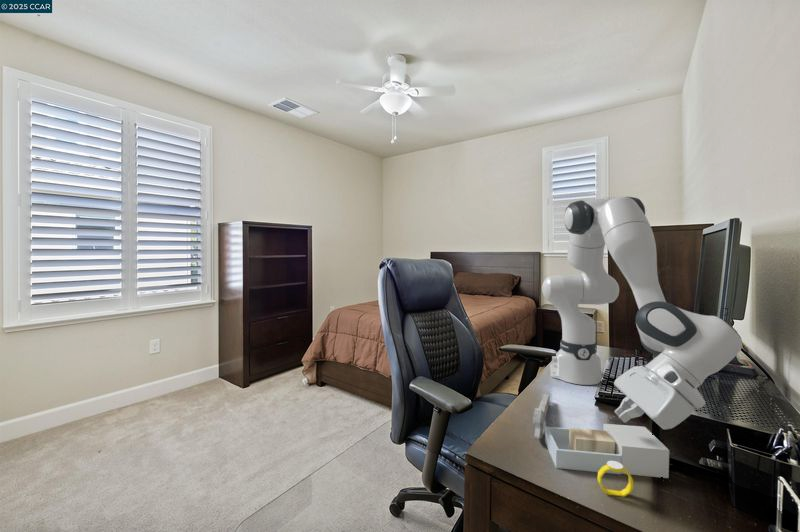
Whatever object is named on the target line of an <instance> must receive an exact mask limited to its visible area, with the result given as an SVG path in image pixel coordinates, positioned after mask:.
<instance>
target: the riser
mask: <svg viewBox="0 0 800 532" xmlns="http://www.w3.org/2000/svg"><path fill="white" fill-rule="evenodd" d="M602 430H603V431H607V433H608V434H609V435H610V436H611V438H612V439H613V440H614V441H615V454H620V455H621V464H622V465H623V467H624V468H625V469H626V470H627V471H628V472H629V474H630V475H631V476H633V475H634V476H640V477H641V476H644V477H650V478H651V477H653V478H654V477H655V478H661V477H663V479H669V476H670V475H669V472H670V469H669V468H670V449H668V447H667V446H665V444H664V443H663V442H661V441H660V440H659V439H658V438H657V436H655V435H654V434H653V433H652V432H651V431H650V430H649V428H647V427H646V426H639V425H625V424H614V423H613V424H612V423H603V429H602ZM652 434H653V435H652ZM622 474H624V475H627V474H626V473H625V472H623V471H622V472H621V474H620V475H622Z"/></svg>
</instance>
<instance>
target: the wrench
mask: <svg viewBox="0 0 800 532" xmlns="http://www.w3.org/2000/svg"><path fill="white" fill-rule="evenodd" d="M550 397H551V396H550V394H546V393H544V394H543V395H542V398H541V401H540V404H539V406H538V407H535V408H534V409H533V410H534V411H533V416H532V417H533V418H532V420H533V421H532V424H533V425H534V438H535V439H538V440H539V439H543V430H544V423H545V419H546V416H547V413H548V409H549V405H550Z"/></svg>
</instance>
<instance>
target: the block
mask: <svg viewBox="0 0 800 532" xmlns="http://www.w3.org/2000/svg"><path fill="white" fill-rule="evenodd" d="M568 428H569V449H570V450H577V451H588V452H599V453H610V454H615V441H614V440H613V439H612V438H611V436H610V435H609V434H608V433H607V431H603V429H602V430H600V429H590V428H589V429H588V428H578V427H577V428H576V427H568Z"/></svg>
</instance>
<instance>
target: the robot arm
mask: <svg viewBox="0 0 800 532" xmlns="http://www.w3.org/2000/svg"><path fill="white" fill-rule="evenodd" d="M645 208H646V207H645V205H644V203H643V202H642V200H641V199H639V198H638V197H633V196H618V197H616V196H610V197H609V196H608V197H607V196H605V197H602V198H593V199H592V198H591V199H587V200H582V199H581V200H577V201H573V202H570V203H569V204H568V206H567V207H566V208H565V212H564V217H563V219H564V221H563V222H564V226H565V229H566V230H567V231H568V232H569V233H570V234H569V240H568V247H567V256H566V260H567V262H568V263H569V265H570V266H572V267H573V269H574V268H575V270H577V271H581V273H579V274H573V273H571V274H570V273H569V274H564V273H561V274H560V273H559V274H554V275H550V276H547V277H545V279H544V280H543V282H542V286H541V292H542V295H543V297H544V299H545V300H546V301H548V302H549V303H550V304H551V305H552V306H553V307H554V308H555V309H556V311H557V312H558V314H559V317H560V320H561V330H562V331H561V333H562V335H561V337H562V338H561V339H560V343H559V344H560V346H559V350H558V351H557V353H555V355H552V356H551V362H552V363H550V364H549V369H550V371H549V373H550V377H551V378H552V379H553V378H554V379H557V380H561V381H563V382H565V383H566V382H567V383H571V384H575V385H584V386H594V385H598V384H599V383H601V382H602V381H601V379H602V376H603V375H602V361H601V360H602V359H601V357H600V356H599V355H598V354H597V353H598V351H597V349H598V346H597V342H596V334H597V333H596V328H597V327H596V321H595V320H594V318H592V317H591V316H590V315H588V314H586V313H584V312H582V311H580V309H579V305H604V304H605V305H606V304H612V303H614V302H615V301H616V300H617V299H618V297H619V294H620V286H619V283H618V282H617V280H616V278H614V277H613V276H611V275H610V274H608V272H607V270H606V269H605V267H604V252H605V246H606V248H607V250H608V253H609V254H610V256H611V258H612V259H613V261H614V263H615V264H616V266H617V267H618V268H619V271H620V272H621V273H622V275H623V277H624V278H625V279H626V281H627V283H628V285H629V287H630V288H631V291H632V294H633V296H634V299H635V303H636V305H637V308H638V309H637V312H636V315H635V325H636V328H637V332H638V334H639V339H640V343H641V345H642V347H643V348H644V349H645V350H646V351H647V352H648V353H651V354H652V355H653V356H655V357H654V358H652V359H651V360H650V361H649V362H648V363H647V364H644V365H639V366H638V365H635V366H633V367H630V368H629V369H628V370H626V371H625V372H624V373H622V374H620V375H618V377H617V378H616V379H615V380H614V382H613V385H614V387H616V388H617V389H618V390H619V391H620V392H621V393H622V394H623V395H625V397H624V398H623V399H622V401H621V402H620V405H619V406H618V407H617V408H616V409H615V410H614V413H615V414H616V416H617V417H618V418H619V420H621V421H622V422H623V423H627V422H629V421H630V420H631V419H635V418H638V417H642V416H643V415H644V414H645V415H646V416H648V417H649V418H650V419H651V420H652V421H653V422H655V424H657V425H658V426H659V427H660V428H661V430H672V429H673V428H676V426H678V425H680V424H681V423H682V422H683V421H685V420H686V419H687V418H689V417H690V416H691V415H692V414H693V412H694V408H695V409H697V410H699V409H701V408H703V407H704V406H705V405H706V401H705V399H704V397H703V396H702V395H701V393H700V391H699V389H698V388H699V387H700V386H701V385H702V384H703V383H704V381H705V380H706V379H707V378H708V377H709V376H710V375H714V374H716V373H718V372H719V371H721V370H722V369H723V368H724V367H726V366H727V365H728V364H729V363H730V362H732V361H733V359H734V358H735V357H736V356H737V355H739V353H740V352H741V349H742V347H743V340H742V337H741V336H740V334H739V333H738V331H737V330H736V329H735V328H734V327H733V326H732V325H731V324H729V323H728V321H726V320H724V319H723V318H722V317H721V318H720V317H718V316H716V315H705V314H700V313H696V312H692V311H690V310H689V311H688V310H687V309H683V308H680V307H678V306H676V305H674V304H672V303H670V302H667V300H666V298H665V296H664V293H663V290H662V288H661V285H660V283H659V282H660V281H659V275H658V261H657V260H658V259H657V257H658V255H657V245H656V239H655V235H654V232H653V228H652V227H651V224H650V222H649V220H648V218H647V216H646V209H645ZM600 381H601V382H600Z"/></svg>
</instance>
